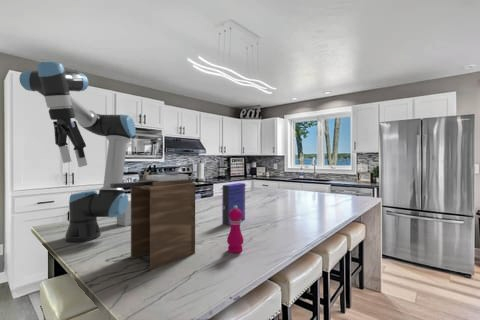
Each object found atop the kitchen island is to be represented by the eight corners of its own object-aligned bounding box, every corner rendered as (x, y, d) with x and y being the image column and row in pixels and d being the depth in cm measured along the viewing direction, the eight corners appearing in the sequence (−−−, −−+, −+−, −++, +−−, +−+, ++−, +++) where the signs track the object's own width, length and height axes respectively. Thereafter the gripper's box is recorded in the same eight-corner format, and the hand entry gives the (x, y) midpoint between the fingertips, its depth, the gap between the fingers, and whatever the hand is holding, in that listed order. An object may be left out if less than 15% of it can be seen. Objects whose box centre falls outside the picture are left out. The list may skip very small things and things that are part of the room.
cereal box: (239, 218, 165) (239, 182, 164) (244, 219, 162) (245, 183, 161) (222, 224, 150) (222, 185, 150) (228, 225, 148) (228, 185, 147)
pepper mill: (237, 255, 104) (238, 207, 103) (223, 251, 108) (224, 205, 107) (246, 249, 110) (246, 204, 110) (233, 246, 114) (233, 203, 113)
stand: (130, 256, 102) (130, 180, 101) (172, 243, 117) (173, 177, 116) (151, 268, 91) (151, 183, 90) (195, 253, 105) (195, 179, 105)
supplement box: (138, 223, 151) (138, 198, 151) (125, 226, 144) (125, 201, 143) (129, 221, 156) (129, 197, 156) (116, 224, 149) (116, 199, 148)
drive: (106, 186, 91) (106, 175, 91) (175, 181, 113) (175, 171, 113) (117, 189, 85) (117, 177, 85) (188, 182, 106) (188, 172, 106)
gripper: (87, 106, 85) (101, 165, 91) (58, 107, 99) (71, 158, 105) (63, 108, 79) (79, 170, 85) (35, 109, 93) (50, 163, 99)
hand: (74, 164), depth 95 cm, fingers open, 13 cm apart
